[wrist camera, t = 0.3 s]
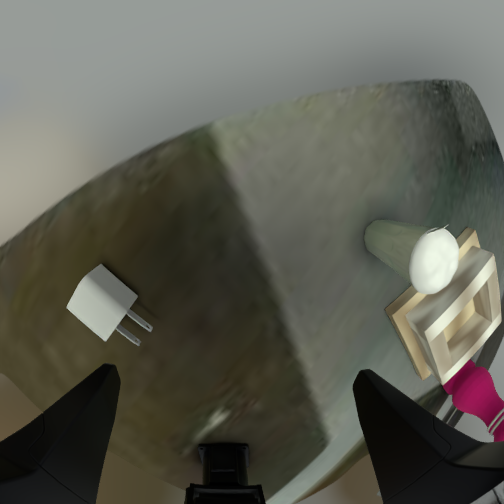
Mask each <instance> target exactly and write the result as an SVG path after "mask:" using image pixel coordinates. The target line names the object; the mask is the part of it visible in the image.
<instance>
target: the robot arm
mask: <svg viewBox="0 0 504 504" xmlns="http://www.w3.org/2000/svg"><path fill="white" fill-rule="evenodd" d="M120 385H121V381H120V377H119V374H118V371H117V368H116V366H115V365H114V364H109V363H104V364H103V365H101V366H100V367H99V368H98V369H96V370H95V371H94V372H93V373H91V374H90V375H89V376H88V377H86V378H85V379H84V380H83V381H81V382H80V383H79V384H78V385H76V386H75V387H74V388H73V389H71V390H70V391H69V392H68V393H66V394H65V395H64V396H63V397H61V398H60V399H59V400H58V401H56V402H55V403H54V404H53V405H52V406H50V407H49V408H48V409H47V410H45V411H44V412H43V413H42V414H40V415H39V416H38V417H37V418H35V419H34V420H33V421H31V422H30V423H29V424H27V425H26V426H25V427H23V428H21V429H20V430H18V431H17V432H15V433H14V434H12V435H10V436H9V437H7V438H6V439H4V440H2V441H1V442H0V504H96V498H97V493H98V487H99V482H100V477H101V473H102V468H103V464H104V460H105V455H106V451H107V447H108V443H109V439H110V435H111V432H112V428H113V424H114V420H115V415H116V409H117V402H118V396H119V391H120ZM353 393H354V398H355V402H356V407H357V412H358V417H359V421H360V425H361V428H362V431H363V434H364V438H365V441H366V444H367V447H368V451H369V454H370V457H371V460H372V464H373V467H374V471H375V474H376V478H377V481H378V485H379V489H380V492H381V496H382V500H383V504H504V441H500V442H490V443H485V442H480V441H477V440H475V439H473V438H471V437H469V436H467V435H465V434H463V433H462V432H460V431H458V430H456V429H455V428H453V427H451V426H449V425H448V424H446V423H445V422H443V421H442V420H440V419H439V418H437V417H436V416H434V415H432V414H431V413H430V412H429V411H427V410H426V409H424V408H423V407H422V406H420V405H419V404H417V403H416V402H415V401H413V400H412V399H410V398H409V397H408V396H406V395H405V394H403V393H402V392H401V391H399V390H398V389H397V388H395V387H394V386H392V385H391V384H390V383H388V382H387V381H386V380H384V379H383V378H382V377H380V376H379V375H377V374H376V373H375V372H373V371H372V370H370V369H365V370H360V371H359V373H358V375H357V377H356V379H355V381H354V383H353ZM198 451H199V455H200V458H201V462H202V465H203V482H202V485H199V484H194V483H190V487H188V488H186V496H185V502H184V504H266V503H265V499H264V495H263V490H262V486H261V484H260V485H250V486H248V477H247V467H249V454H248V445H247V444H233V445H198Z"/></svg>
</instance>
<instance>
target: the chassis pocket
mask: <svg viewBox="0 0 504 504" xmlns="http://www.w3.org/2000/svg"><path fill="white" fill-rule="evenodd" d="M456 241H457V244H458V247H459V258H458V267H457V270H456V272H455V273H454V275H453V277H452V279H451V281H450V283H449V284H448V285H447V286H446V287H444V288H443V289H441V290H440V291H439V292H437V293H434V294H422V293H419V292H418V291H417V290H416V289H415V288H414V287H413V286H412V285H411V286H410V287H409V288H408V289H407V290H406V291H405V292H404V293H402V294H401V295H400V296H399V297H398V298H397V299H396V300H395V301H394V302H392V303H391V304H390V305H389V306H388V307H387V308H386V309H385V311H386V312H387V314H388V316H389V318H390V320H391V322H392V324H393V326H394V328H395V329H396V331H397V333H398V335H399V337H400V339H401V341H402V343H403V345H404V347H405V349H406V351H407V353H408V355H409V357H410V359H411V362H412V364H413V366H414V368H415V370H416V372H417V374H418V376H419V377H420V378H421V379H422V380H425V379H426V378H427V377H428V376H429V375H430V374H431V373H432V374H433V376H434V377H435V378H436V379H437V380H438V381H439V382H440V383H441V384H442V385H444V384H445V383H446V382H447V381H448V380H449V379H450V378H451V377H452V376H453V375H454V374H456V373H457V372H458V371H459V370H460V369H461V368H462V366H463V365H464V364H465V363H466V362H467V361H468V360H469V359H470V358H471V357H472V356H473V355H474V354H475V353H476V352H477V350H478V349H479V348H480V347H481V346H482V345H483V344H484V342H485V341H486V340H487V339H488V338H489V336H490V335H491V334H492V333H493V331H494V330H495V329H496V328H497V326H498V325H499V324H500V322H501V305H500V294H499V284H498V277H497V270H496V263H495V258H494V254H493V253H491V252H488V251H486V250H483V249H480V246H479V242H478V238H477V234H476V231H475V230H474V229H471V228H467V227H466V229H465V230H464V231H463V232H462V233H461V234H460V236H459V237H458V238H457V239H456Z"/></svg>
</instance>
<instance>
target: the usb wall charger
mask: <svg viewBox="0 0 504 504" xmlns="http://www.w3.org/2000/svg"><path fill="white" fill-rule="evenodd" d="M137 297H138V295H136V294H135V293H134V292H133V291H132V290H130V289H129V288H128V287H127V286H126V285H124V284H123V283H122V282H121V281H120V280H119V279H117V278H116V277H115V276H114V275H113V274H112V273H111V272H110V271H108V270H107V269H106V268H105V267H104V266H103V265H102V264H100V265H99V266H97V267H96V268H95V269H93V270H92V271H91V272H89V273H88V274H87V275H86V276H85V277H84V278H83V279H82V280H81V282H80V283H79V285H78V287H77V289H76V290H75V292H74V294H73V296H72V298H71V300H70V302H69V303H68V305H67V309H68V310H70V311H71V312H72V313H73V314H74V315H75V316H76V317H77V318H78V319H79V320H81V321H82V322H83V323H84V324H85V325H86V326H88V327H89V328H90V329H91V330H92V331H93V332H95V333H96V334H97V335H98V336H99V337H101V338H102V339H103V340H104V341H107V339H108V338H109V336H110V335H111V334H112V332H113V331H114V329H116V330H117V331H119V332H120V333H121V334H122V335H124V336H125V337H126V338H128V339H129V340H130V341H132V342H133V343H135V344H136V345H138V346H139V345H140V343H141V341H140V340H139V339H137V338H136V337H135V336H134V335H133V334H131V333H130V332H129V331H127V330H126V329H125V328H124V327H122V326H121V325H120V324H119V323H120V321H121V320H122V318H123V317H124V316H125V314H127V315H128V316H129V317H131V318H132V319H133V320H134V321H136V322H137V323H138V324H140V325H141V326H142V327H144V328H145V329H146V330H148V331H149V332H151V331H152V329H153V327H152V326H150V325H149V324H148V323H147V322H146V321H144V320H143V319H142V318H141V317H139V316H138V315H137V314H136V313H134V312H133V311H132V310H131V309H130V307H131V306H132V304H133V303H134V301H135V300H136V299H137ZM146 325H147V326H149V328H150V329H148V328H147V327H146ZM134 339H135V340H137V341H138V343H136V342H135V340H134Z"/></svg>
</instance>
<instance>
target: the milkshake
mask: <svg viewBox="0 0 504 504" xmlns="http://www.w3.org/2000/svg"><path fill="white" fill-rule="evenodd" d="M448 225H449V224H447V225H445V226H442V227H439V228H437V227H429V226H422V225H415V224H410V223H404V222H398V221H392V220H386V219H381V220H374V221H373V222H372V223H371V224H370V225H369V226H368V227H367V228H366V231H365V236H364V242H365V245H366V248H367V250H368V251H370V252H371V253H372V254H374V255H375V256H376V257H378V258H379V259H380V260H382V261H383V262H384V263H386V264H387V265H388V266H390V267H391V268H392V269H393V270H395V271H396V272H397V273H398V274H399V275H400V276H401V277H402V278H404V279H405V280H406V281H407V282H408V283H409V284H410V285H412V286H413V287H414V288H415V289H416V290H417V291H418V292H419V293H422V294H434V293H437V292H439V291H440V290H441V289H443V288H444V287H446V286H447V285H448V284H449V283H450V281H451V279H452V277H453V275H454V273H455V272H456V270H457V267H458V258H459V247H458V244H457V241H456V240H455V238H454V237H453V235H452V234H451V233H449V232H448V231H447V230H446V229H443V228H445V227H447V226H448Z"/></svg>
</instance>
